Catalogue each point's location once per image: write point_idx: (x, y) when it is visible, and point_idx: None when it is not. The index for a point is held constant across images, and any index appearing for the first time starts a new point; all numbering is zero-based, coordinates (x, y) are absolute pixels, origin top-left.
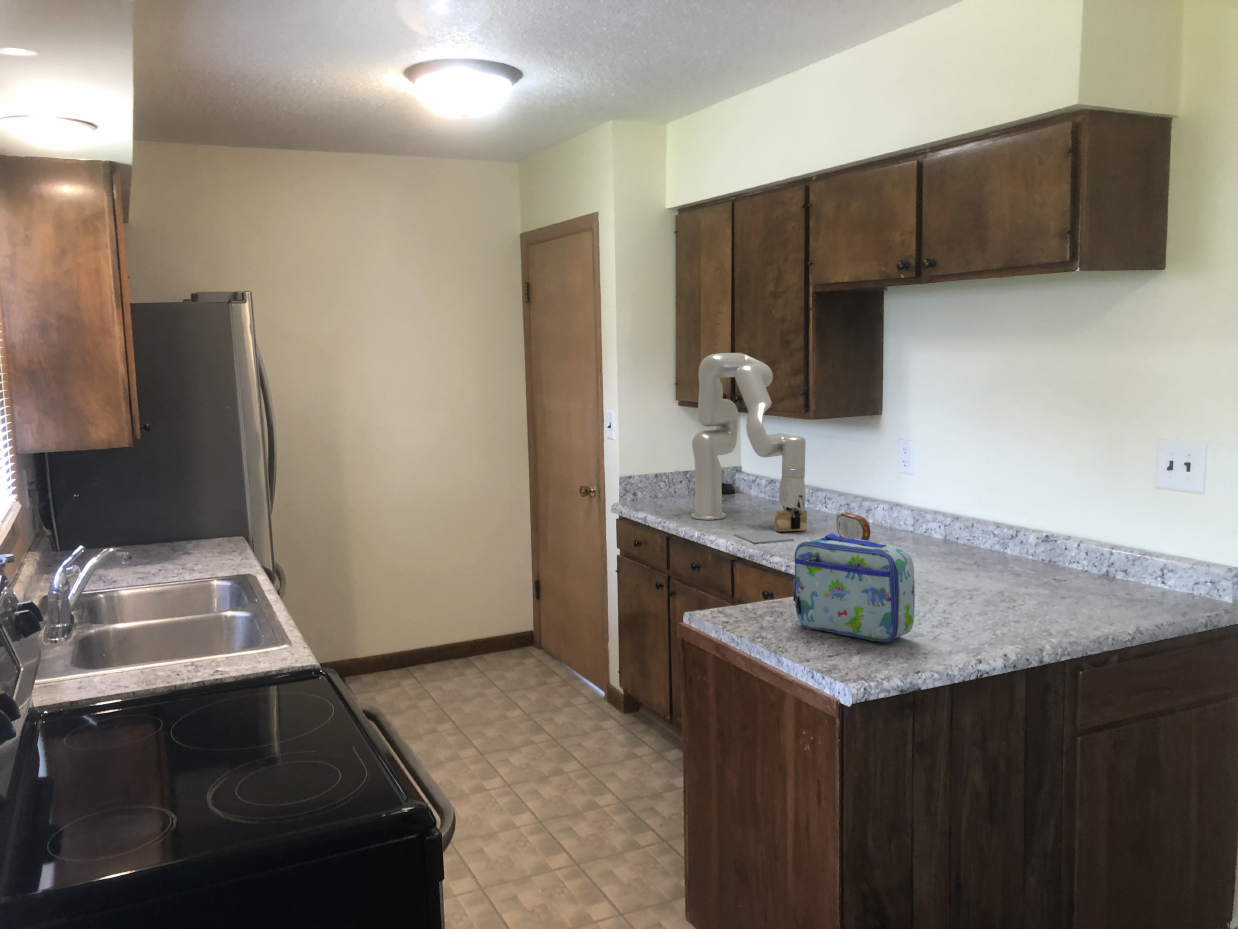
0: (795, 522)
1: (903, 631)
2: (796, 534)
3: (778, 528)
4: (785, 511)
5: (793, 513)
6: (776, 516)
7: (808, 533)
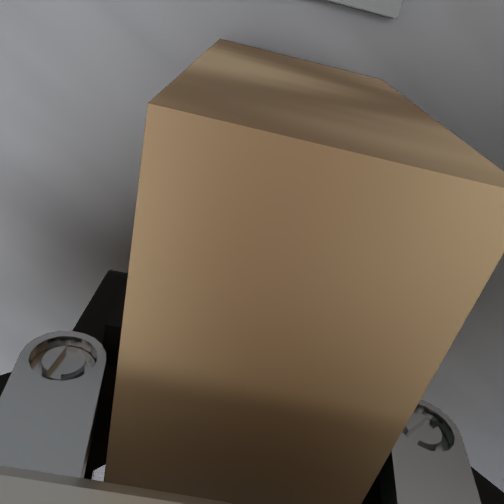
0: (89, 307)
1: None
2: (63, 191)
3: (259, 53)
4: (210, 346)
5: (27, 397)
6: (388, 122)
7: (54, 327)
